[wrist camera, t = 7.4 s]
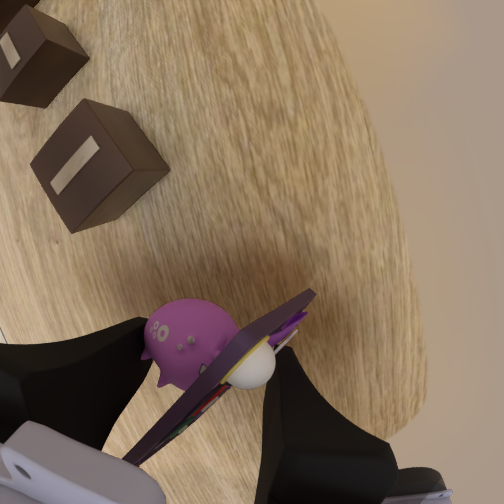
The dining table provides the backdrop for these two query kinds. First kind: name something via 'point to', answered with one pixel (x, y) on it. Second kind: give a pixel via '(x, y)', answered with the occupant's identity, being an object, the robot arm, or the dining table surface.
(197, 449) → the dining table surface
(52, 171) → the brown box
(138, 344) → the robot arm
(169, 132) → the dining table surface
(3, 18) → the brown box
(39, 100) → the brown box
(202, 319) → the game card
